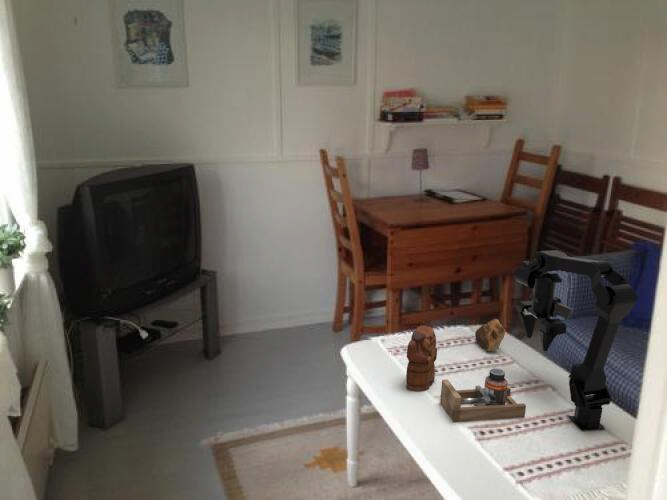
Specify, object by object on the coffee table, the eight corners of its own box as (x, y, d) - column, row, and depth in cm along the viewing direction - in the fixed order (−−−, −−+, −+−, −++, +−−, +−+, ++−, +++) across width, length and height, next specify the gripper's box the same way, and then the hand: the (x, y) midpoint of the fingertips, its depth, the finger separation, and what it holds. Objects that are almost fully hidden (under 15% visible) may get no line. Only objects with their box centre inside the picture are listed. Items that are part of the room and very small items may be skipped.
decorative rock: (504, 354, 196) (508, 324, 193) (487, 356, 195) (491, 325, 192) (487, 339, 207) (490, 310, 205) (471, 341, 206) (474, 311, 203)
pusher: (488, 414, 158) (490, 397, 157) (466, 416, 157) (467, 399, 156) (477, 401, 165) (479, 385, 163) (456, 403, 164) (458, 386, 162)
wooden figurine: (422, 395, 168) (427, 336, 163) (402, 389, 171) (406, 331, 167) (438, 379, 178) (443, 323, 173) (418, 373, 181) (423, 318, 176)
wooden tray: (524, 417, 159) (527, 393, 157) (453, 422, 155) (455, 398, 153) (507, 398, 168) (510, 376, 166) (440, 402, 165) (442, 379, 163)
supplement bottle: (502, 404, 165) (507, 367, 162) (506, 415, 159) (511, 377, 156) (480, 402, 165) (484, 365, 162) (483, 413, 160) (488, 375, 157)
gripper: (588, 304, 162) (580, 356, 166) (552, 282, 179) (546, 330, 183) (550, 305, 160) (543, 358, 164) (518, 283, 177) (512, 331, 182)
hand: (537, 344), depth 173 cm, fingers open, 9 cm apart
